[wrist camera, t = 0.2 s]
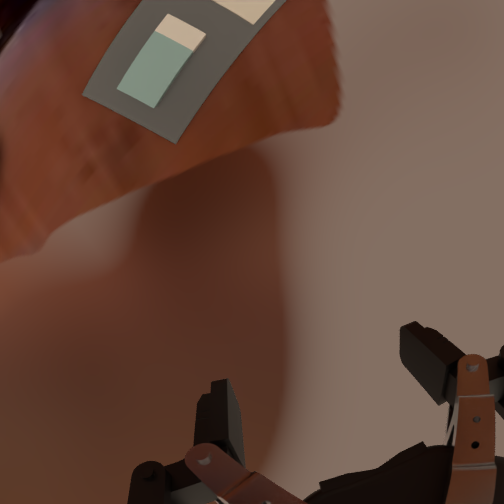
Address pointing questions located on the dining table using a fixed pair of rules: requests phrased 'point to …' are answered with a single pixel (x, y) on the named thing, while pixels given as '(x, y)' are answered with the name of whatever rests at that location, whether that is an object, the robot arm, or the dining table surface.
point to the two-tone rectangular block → (161, 60)
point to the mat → (194, 71)
